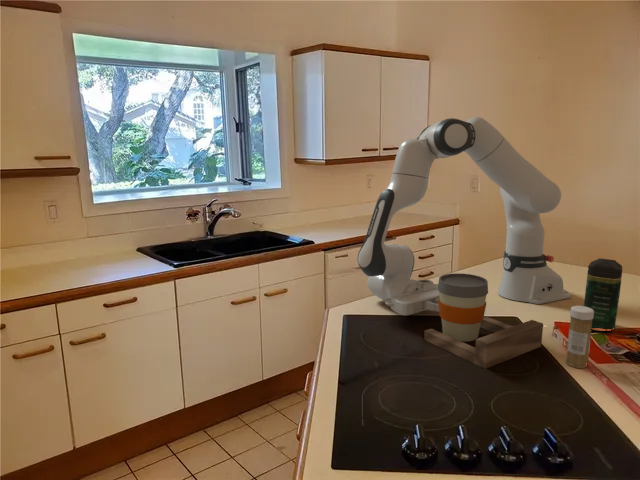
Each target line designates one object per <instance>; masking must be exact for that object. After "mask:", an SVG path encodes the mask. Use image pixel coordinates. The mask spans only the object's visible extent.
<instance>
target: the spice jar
mask: <svg viewBox="0 0 640 480" xmlns="http://www.w3.org/2000/svg"><path fill="white" fill-rule="evenodd" d="M569 315H570V316H569V317H570V322H569V329H568V339H567V348H566V349H567V353H566V360H565V363H566V364H567V365H568V366H570V367H573V368H575V369H576V368H577V369H586V368H587V367H586V363H587V361H588V362H589V354H590V350H591V348H590V347H591V335H592V330H591V328H592V320H593V318H594V310H593V309H591V308H589V307H585V306H584V305H574V306H571V307H570V311H569ZM585 367H586V368H585Z"/></svg>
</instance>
